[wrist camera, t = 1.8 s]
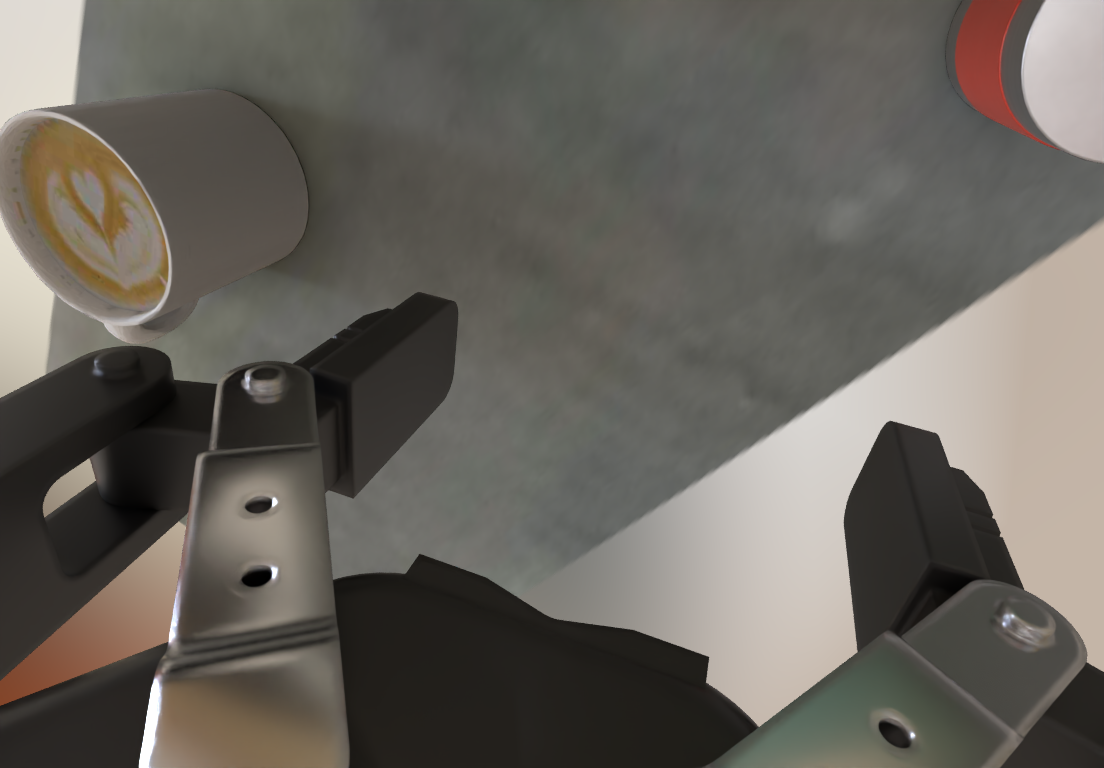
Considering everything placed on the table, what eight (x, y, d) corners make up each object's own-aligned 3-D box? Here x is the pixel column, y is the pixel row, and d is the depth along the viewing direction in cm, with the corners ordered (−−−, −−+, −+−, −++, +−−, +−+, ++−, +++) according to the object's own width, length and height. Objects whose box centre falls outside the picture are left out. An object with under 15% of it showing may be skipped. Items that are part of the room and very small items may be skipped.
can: (907, 50, 26) (964, 63, 18) (1060, -108, 23) (1220, -184, 14) (1017, 153, 26) (1122, 214, 18) (1182, 14, 23) (1405, 9, 15)
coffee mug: (186, 48, 35) (0, 56, 27) (334, 168, 36) (197, 213, 28) (134, 234, 43) (-26, 287, 34) (257, 332, 43) (130, 406, 35)
